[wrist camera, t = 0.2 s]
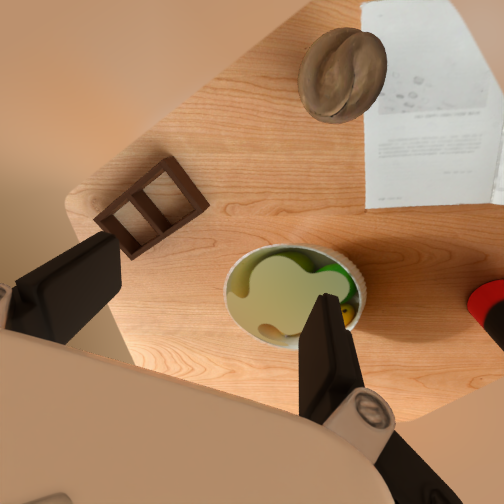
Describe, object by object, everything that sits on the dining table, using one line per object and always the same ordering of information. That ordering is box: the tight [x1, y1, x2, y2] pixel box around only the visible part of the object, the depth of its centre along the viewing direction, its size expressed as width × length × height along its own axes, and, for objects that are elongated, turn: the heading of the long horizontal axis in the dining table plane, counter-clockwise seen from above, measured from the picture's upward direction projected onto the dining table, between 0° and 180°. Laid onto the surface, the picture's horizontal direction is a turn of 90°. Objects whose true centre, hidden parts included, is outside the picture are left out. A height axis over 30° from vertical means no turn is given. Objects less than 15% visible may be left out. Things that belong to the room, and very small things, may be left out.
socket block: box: [93, 156, 210, 261], centre depth 37 cm, size 16×8×3 cm, turn 124°
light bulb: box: [298, 28, 387, 124], centre depth 22 cm, size 6×6×15 cm
